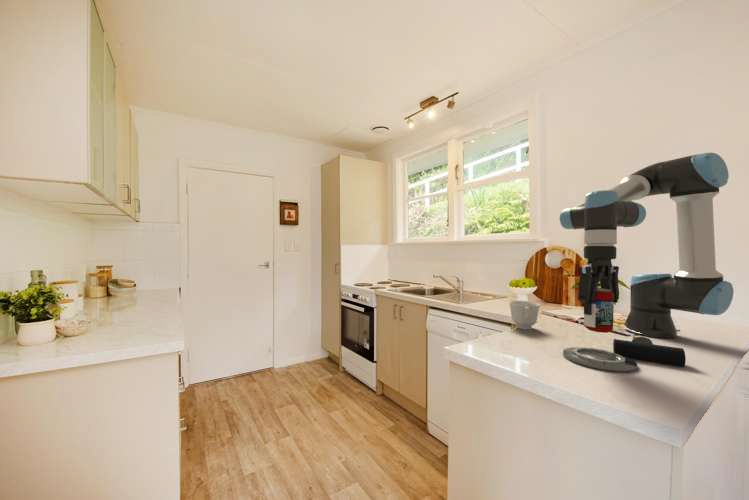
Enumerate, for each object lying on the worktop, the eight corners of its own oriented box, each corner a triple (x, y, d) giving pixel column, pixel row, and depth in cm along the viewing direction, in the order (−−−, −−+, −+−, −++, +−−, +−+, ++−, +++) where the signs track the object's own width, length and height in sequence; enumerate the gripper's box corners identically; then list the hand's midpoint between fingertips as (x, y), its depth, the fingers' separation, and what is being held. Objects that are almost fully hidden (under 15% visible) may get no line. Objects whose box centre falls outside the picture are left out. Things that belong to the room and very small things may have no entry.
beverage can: (595, 333, 83) (596, 290, 83) (578, 327, 90) (579, 287, 90) (619, 333, 83) (620, 290, 83) (600, 327, 90) (601, 287, 90)
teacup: (510, 331, 116) (510, 305, 116) (506, 323, 130) (506, 299, 130) (545, 335, 112) (545, 308, 112) (537, 325, 126) (537, 301, 126)
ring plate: (587, 348, 98) (587, 342, 98) (651, 367, 82) (651, 361, 82) (549, 354, 91) (550, 348, 91) (611, 376, 76) (611, 369, 76)
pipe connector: (611, 331, 99) (674, 339, 91) (610, 347, 99) (673, 357, 91) (615, 340, 90) (685, 350, 81) (614, 358, 90) (685, 370, 82)
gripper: (607, 246, 94) (606, 320, 94) (563, 244, 86) (561, 324, 86) (636, 246, 87) (634, 325, 87) (590, 244, 79) (588, 331, 79)
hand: (598, 325), depth 87 cm, fingers closed on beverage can, 7 cm apart
